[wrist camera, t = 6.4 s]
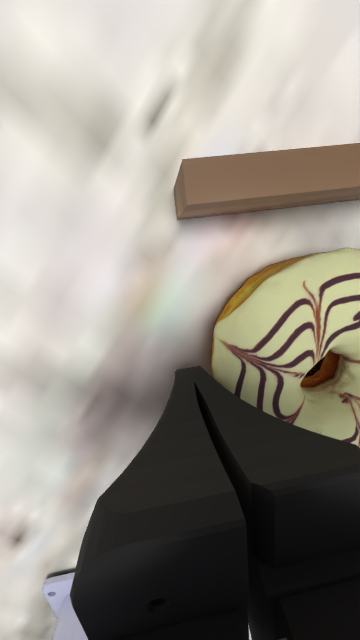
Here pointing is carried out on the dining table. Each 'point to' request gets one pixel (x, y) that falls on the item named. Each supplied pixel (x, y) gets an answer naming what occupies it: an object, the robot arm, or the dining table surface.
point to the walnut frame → (267, 180)
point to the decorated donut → (296, 343)
